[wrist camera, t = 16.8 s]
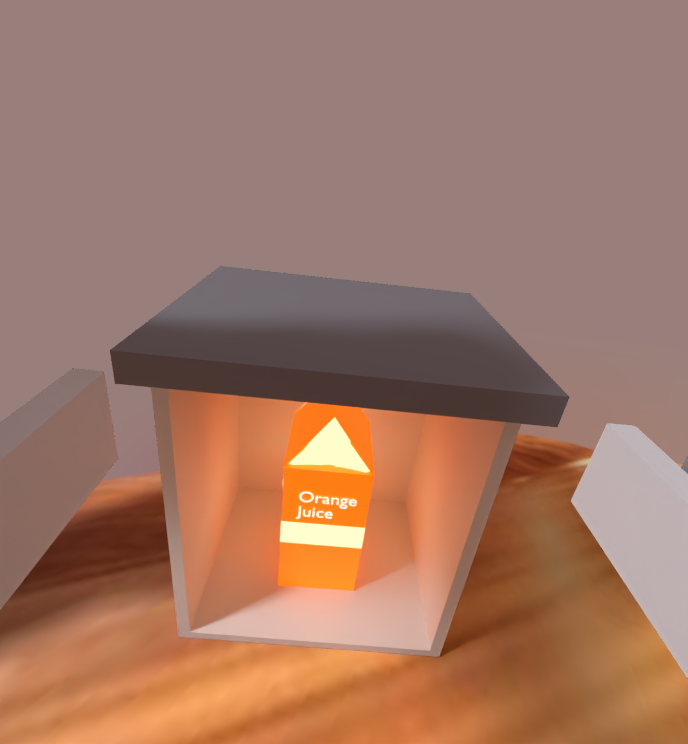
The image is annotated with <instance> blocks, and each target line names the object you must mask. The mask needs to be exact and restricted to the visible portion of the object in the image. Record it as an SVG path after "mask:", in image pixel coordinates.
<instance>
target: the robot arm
mask: <svg viewBox="0 0 688 744" xmlns="http://www.w3.org/2000/svg"><path fill="white" fill-rule="evenodd" d="M117 459H118V454H117V448H116V443H115V436H114V430H113V424H112V417H111V411H110V405H109V399H108V393H107V387H106V381H105V374H104V372H103V371H93V370H84V369H74V368H73V369H72V370H70V371H69V372H67V373H66V374H65V375H64V376H62V377H61V378H60V379H58V380H57V381H55V382H54V383H53V384H52V385H50V386H49V387H48V388H46V389H45V390H43V391H42V392H41V393H39V394H38V395H37V396H35V397H34V398H33V399H31V400H30V401H29V402H27V403H26V404H25V405H23V406H22V407H21V408H19V409H18V410H17V411H15V412H14V413H13V414H11V415H10V416H9V417H7V418H6V419H5V420H3V421H2V422H1V423H0V610H1V609H2V607H3V606H4V605H5V604H6V602H7V601H8V600H9V598H10V597H11V596H12V595H13V593H14V592H15V591H16V589H17V588H18V587H19V586H20V584H21V583H22V582H23V580H24V579H25V578H26V577H27V575H28V574H29V573H30V571H31V570H32V569H33V568H34V566H35V565H36V564H37V562H38V561H39V560H40V559H41V557H42V556H43V555H44V553H45V552H46V551H47V550H48V548H49V547H50V546H51V544H52V543H53V542H54V541H55V539H56V538H57V537H58V535H59V534H60V533H61V532H62V530H63V529H64V528H65V526H66V525H67V524H68V523H69V521H70V520H71V519H72V517H73V516H74V515H75V514H76V512H77V511H78V510H79V508H80V507H81V506H82V505H83V503H84V502H85V501H86V499H87V498H88V497H89V496H90V494H91V493H92V492H93V490H94V489H95V488H96V487H97V485H98V484H99V483H100V481H101V480H102V479H103V478H104V476H105V475H106V474H107V472H108V471H109V470H110V468H111V467H112V466H113V464H114V463H115V462H116V461H117ZM571 502H572V504H573V505H574V507H575V509H576V510H577V512H578V513H579V515H580V516H581V518H582V519H583V521H584V522H585V524H586V525H587V527H588V528H589V530H590V531H591V533H592V534H593V536H594V537H595V539H596V540H597V542H598V543H599V545H600V546H601V548H602V549H603V551H604V552H605V554H606V556H607V557H608V559H609V560H610V562H611V563H612V565H613V566H614V568H615V569H616V571H617V572H618V574H619V575H620V577H621V578H622V580H623V581H624V583H625V584H626V586H627V587H628V589H629V590H630V592H631V593H632V595H633V596H634V598H635V599H636V601H637V603H638V604H639V606H640V607H641V609H642V610H643V612H644V613H645V615H646V616H647V618H648V619H649V621H650V622H651V624H652V625H653V627H654V628H655V630H656V631H657V633H658V634H659V636H660V637H661V639H662V640H663V642H664V643H665V645H666V646H667V648H668V650H669V651H670V653H671V654H672V656H673V657H674V659H675V660H676V662H677V663H678V665H679V666H680V668H681V669H682V671H683V672H684V674H685V675H686V677H687V678H688V474H687V473H686V472H685V471H684V470H683V469H682V468H681V467H680V466H678V465H677V464H676V463H675V462H674V461H673V460H672V459H671V458H670V457H668V456H667V455H666V454H665V453H664V452H663V451H662V450H661V449H660V448H659V447H658V446H656V445H655V444H654V443H653V442H652V441H651V440H650V439H649V438H648V437H647V436H645V435H644V434H643V433H642V432H641V431H640V430H639V429H638V428H637V427H636V426H630V425H619V424H610V423H608V424H607V425H606V427H605V430H604V432H603V434H602V436H601V438H600V440H599V442H598V444H597V446H596V448H595V451H594V453H593V455H592V457H591V459H590V461H589V463H588V465H587V467H586V470H585V472H584V474H583V476H582V478H581V480H580V482H579V484H578V486H577V488H576V491H575V493H574V495H573V497H572V499H571Z"/></svg>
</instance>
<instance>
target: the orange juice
mask: <svg viewBox="0 0 688 744" xmlns="http://www.w3.org/2000/svg"><path fill="white" fill-rule="evenodd" d="M283 468H284V479H283V480H284V482H283V484H282V485H283V486H282V487H283V502H282V518H281V529H280V555H279V573H278V585H283V586H296V587H309V588H322V589H335V590H348V591H354V586H355V581H356V575H357V569H358V564H359V558H360V552H361V549H362V544H363V538H364V533H365V524H366V519H367V513H368V507H369V502H370V496H371V490H372V485H373V479H374V466H373V455H372V444H371V433H370V422H369V419H367V417H366V415H365V414H364V412H363V410H362V409H361V408H358V407H348V406H337V405H327V404H317V403H307V402H305V403H304V404H303V405H302V406H301V407H300V408H299V409H298V410H297V411H296V412H295V413H294V417H293V422H292V427H291V431H290V436H289V441H288V446H287V450H286V455H285V460H284V464H283Z"/></svg>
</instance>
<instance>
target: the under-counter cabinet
mask: <svg viewBox="0 0 688 744" xmlns="http://www.w3.org/2000/svg"><path fill="white" fill-rule="evenodd" d="M110 354H111V360H112V367H113V373H114V380H115V384H125V385H135V386H145V387H151V391H152V400H153V410H154V419H155V428H156V436H157V446H158V455H159V463H160V473H161V482H162V491H163V500H164V509H165V518H166V527H167V536H168V545H169V554H170V563H171V572H172V581H173V590H174V599H175V608H176V617H177V626H178V635H179V637H187V638H200V639H213V640H226V641H239V642H252V643H265V644H278V645H291V646H304V647H317V648H330V649H343V650H356V651H369V652H382V653H395V654H408V655H421V656H434V657H439V656H440V653H441V651H442V648H443V645H444V642H445V639H446V636H447V633H448V631H449V628H450V625H451V622H452V619H453V616H454V614H455V611H456V608H457V605H458V602H459V599H460V596H461V594H462V591H463V588H464V585H465V582H466V579H467V577H468V574H469V571H470V568H471V565H472V562H473V559H474V557H475V554H476V551H477V548H478V545H479V542H480V540H481V537H482V534H483V531H484V528H485V525H486V522H487V520H488V517H489V514H490V511H491V508H492V505H493V503H494V500H495V497H496V494H497V491H498V488H499V485H500V483H501V480H502V477H503V474H504V471H505V468H506V466H507V463H508V460H509V457H510V454H511V451H512V448H513V446H514V443H515V440H516V437H517V434H518V431H519V428H520V426H521V424H530V425H540V426H550V427H558V424H559V422H560V419H561V417H562V414H563V412H564V409H565V407H566V404H567V402H568V399H569V396H568V395H567V394H566V393H565V392H564V391H563V390H562V389H561V388H560V387H559V386H558V385H557V384H556V383H555V382H554V381H553V379H551V377H549V375H548V374H547V373H546V372H545V371H544V370H543V369H542V368H541V367H540V366H539V365H538V364H537V363H536V362H535V361H534V360H533V359H532V358H531V356H529V354H527V353H526V351H525V350H524V349H523V348H522V347H521V346H519V344H518V343H517V342H516V341H515V340H514V339H513V338H512V337H511V336H510V335H509V334H508V333H507V332H506V330H505V329H504V328H503V327H502V326H501V325H500V324H499V323H498V322H497V321H496V320H495V319H494V318H493V317H492V316H491V315H490V314H489V313H488V312H487V311H486V310H485V309H484V308H483V306H482V305H481V304H480V303H479V302H478V301H477V300H476V299H475V298H474V297H473V296H472V295H471V294H469V293H459V292H451V291H441V290H433V289H423V288H414V287H405V286H396V285H387V284H378V283H369V282H359V281H351V280H341V279H332V278H323V277H314V276H305V275H296V274H286V273H278V272H269V271H260V270H251V269H241V268H232V267H223V266H220V267H219V268H217V269H216V270H215V271H214V272H212V273H211V274H209V275H208V276H207V277H205V278H204V279H203V280H202V281H200V282H199V283H198V284H196V285H195V286H194V287H193V288H191V289H190V290H189V291H187V292H186V293H185V294H183V295H182V296H181V297H179V298H178V299H177V300H176V301H174V302H173V303H171V304H170V305H169V306H167V307H166V308H165V309H164V310H162V311H161V312H160V313H158V314H157V315H156V316H154V317H153V318H152V319H150V320H149V321H148V322H146V323H145V324H144V325H143V326H141V327H140V328H139V329H137V330H136V331H135V332H133V333H132V334H131V335H129V336H128V337H127V338H126V339H124V340H123V341H122V342H120V343H119V344H118V345H116V346H115V347H114V348H112V349H111V350H110ZM305 402H307V403H317V404H327V405H337V406H348V407H358V408H361V409H362V410H363V412H364V414H365V415H366V417H367V419H369V422H370V433H371V444H372V455H373V466H374V479H373V485H372V490H371V496H370V502H369V507H368V513H367V519H366V524H365V533H364V538H363V544H362V549H361V552H360V558H359V564H358V569H357V575H356V581H355V586H354V591H348V590H335V589H322V588H309V587H296V586H283V585H278V573H279V555H280V529H281V518H282V502H283V487H282V486H283V485H282V484H283V482H284V480H283V479H284V468H283V464H284V460H285V455H286V450H287V446H288V441H289V436H290V431H291V427H292V422H293V417H294V413H295V412H296V411H297V410H298V409H299V408H300V407H301V406H302V405H303V404H304V403H305Z"/></svg>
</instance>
